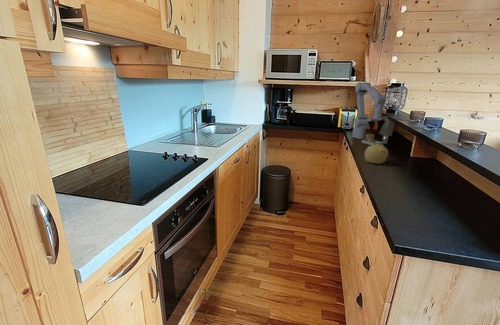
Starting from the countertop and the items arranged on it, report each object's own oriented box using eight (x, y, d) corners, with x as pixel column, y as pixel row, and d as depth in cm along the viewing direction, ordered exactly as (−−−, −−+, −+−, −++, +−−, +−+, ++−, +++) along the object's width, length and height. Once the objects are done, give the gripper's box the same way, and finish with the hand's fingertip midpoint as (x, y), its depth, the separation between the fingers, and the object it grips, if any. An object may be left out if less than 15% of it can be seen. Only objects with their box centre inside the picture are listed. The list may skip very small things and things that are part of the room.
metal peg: (380, 143, 196) (382, 135, 194) (384, 142, 197) (385, 134, 195) (384, 144, 193) (386, 136, 191) (388, 143, 194) (389, 135, 192)
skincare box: (378, 134, 227) (381, 116, 222) (385, 134, 229) (388, 116, 225) (386, 136, 220) (389, 117, 215) (392, 136, 222) (396, 117, 217)
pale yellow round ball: (389, 166, 142) (392, 147, 139) (365, 164, 144) (368, 145, 141) (383, 160, 153) (386, 142, 149) (361, 158, 155) (364, 141, 152)
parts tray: (361, 142, 197) (361, 140, 196) (370, 141, 200) (370, 139, 200) (374, 145, 186) (374, 143, 186) (383, 144, 190) (383, 142, 189)
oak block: (365, 142, 196) (366, 134, 195) (369, 141, 198) (370, 133, 196) (369, 143, 193) (370, 135, 191) (373, 142, 194) (374, 134, 193)
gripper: (374, 113, 182) (372, 132, 186) (389, 112, 188) (386, 130, 192) (367, 112, 189) (364, 130, 193) (381, 111, 194) (378, 129, 198)
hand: (375, 130), depth 193 cm, fingers open, 7 cm apart
